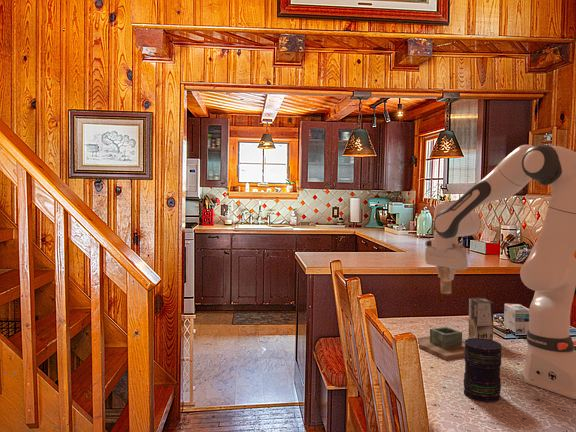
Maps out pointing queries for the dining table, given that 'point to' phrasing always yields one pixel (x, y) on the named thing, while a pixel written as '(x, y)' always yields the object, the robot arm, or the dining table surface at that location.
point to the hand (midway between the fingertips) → (445, 278)
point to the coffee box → (481, 318)
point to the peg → (445, 280)
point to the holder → (443, 343)
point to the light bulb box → (516, 318)
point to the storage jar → (482, 369)
